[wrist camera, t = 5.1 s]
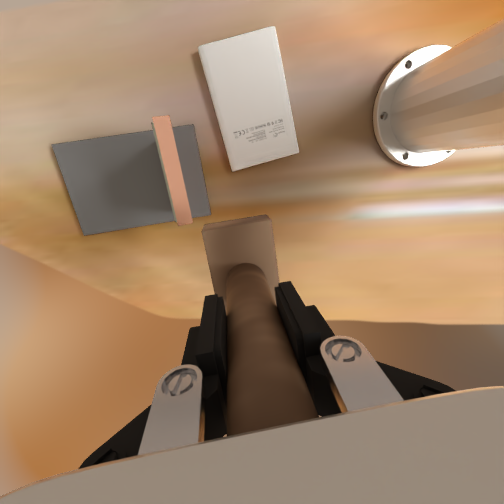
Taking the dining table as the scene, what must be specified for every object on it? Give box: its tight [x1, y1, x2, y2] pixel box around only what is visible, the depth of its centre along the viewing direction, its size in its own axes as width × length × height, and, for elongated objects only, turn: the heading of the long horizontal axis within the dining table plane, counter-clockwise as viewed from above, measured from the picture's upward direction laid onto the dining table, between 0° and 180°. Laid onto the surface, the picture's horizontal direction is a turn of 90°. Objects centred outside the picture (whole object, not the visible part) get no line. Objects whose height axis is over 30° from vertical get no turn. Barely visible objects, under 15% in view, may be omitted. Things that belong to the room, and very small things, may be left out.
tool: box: [202, 215, 319, 436], centre depth 11 cm, size 4×7×14 cm, turn 9°
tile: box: [151, 115, 193, 226], centre depth 24 cm, size 1×8×10 cm, turn 9°
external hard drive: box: [198, 26, 299, 172], centre depth 28 cm, size 2×8×12 cm
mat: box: [52, 124, 211, 236], centre depth 29 cm, size 15×10×1 cm, turn 99°
